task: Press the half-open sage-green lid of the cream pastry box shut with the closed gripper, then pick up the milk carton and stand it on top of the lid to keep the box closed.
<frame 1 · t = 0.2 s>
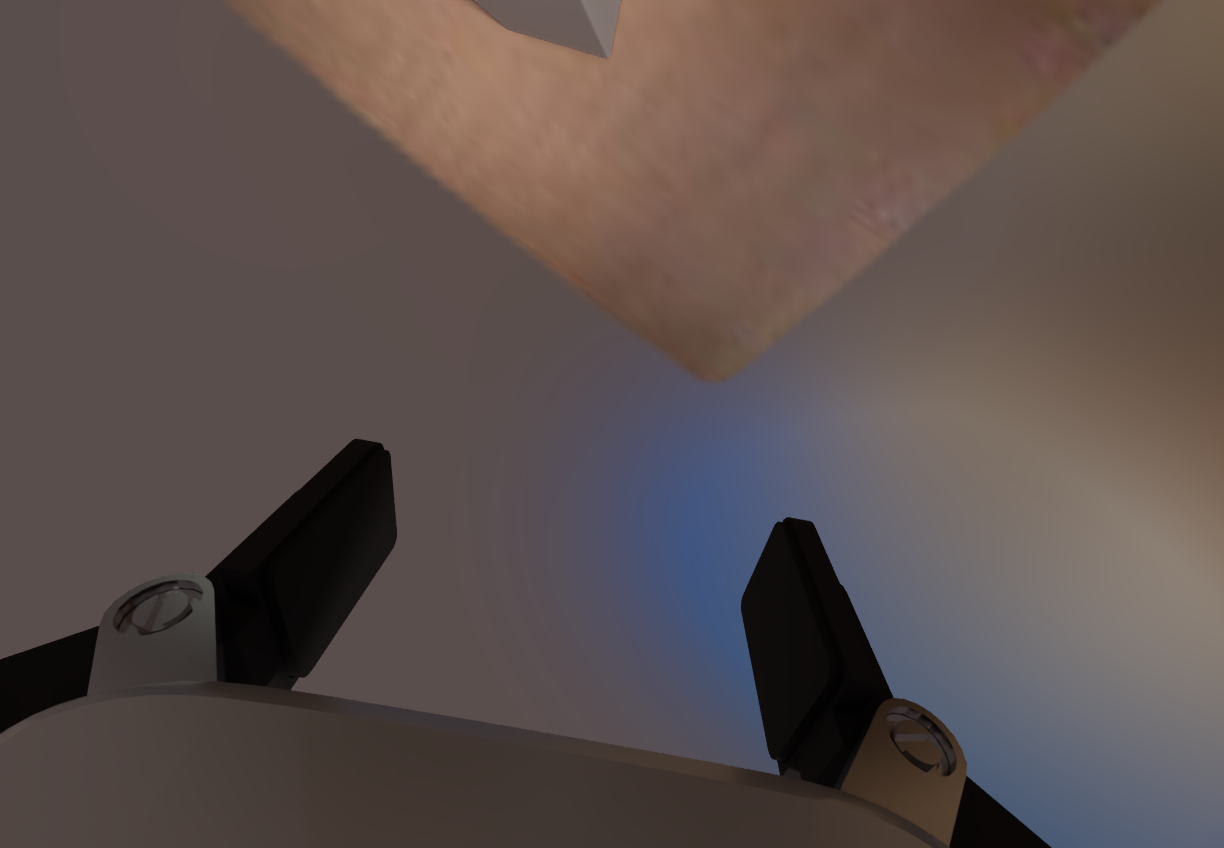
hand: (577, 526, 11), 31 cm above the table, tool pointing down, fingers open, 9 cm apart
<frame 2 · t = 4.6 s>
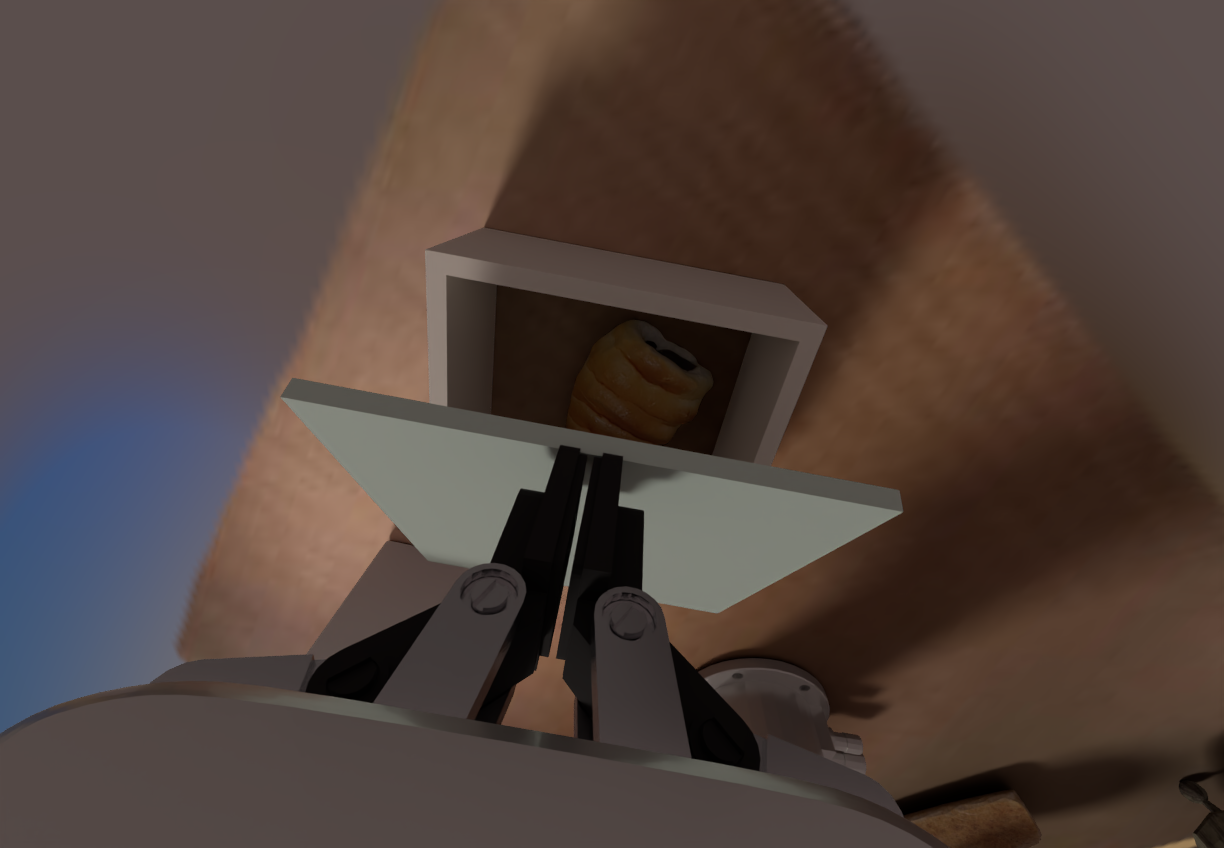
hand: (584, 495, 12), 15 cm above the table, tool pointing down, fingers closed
pastry box: (609, 391, 28), on the table
box lid: (581, 537, 19), point 11 cm above the table, hinge at 29.5°, touching gripper
brown upright piece: (949, 812, 48), on the table
pastry: (635, 388, 28), resting in pastry box
milk carton: (434, 578, 37), on the table
tabletop clock: (1208, 773, 41), on the table
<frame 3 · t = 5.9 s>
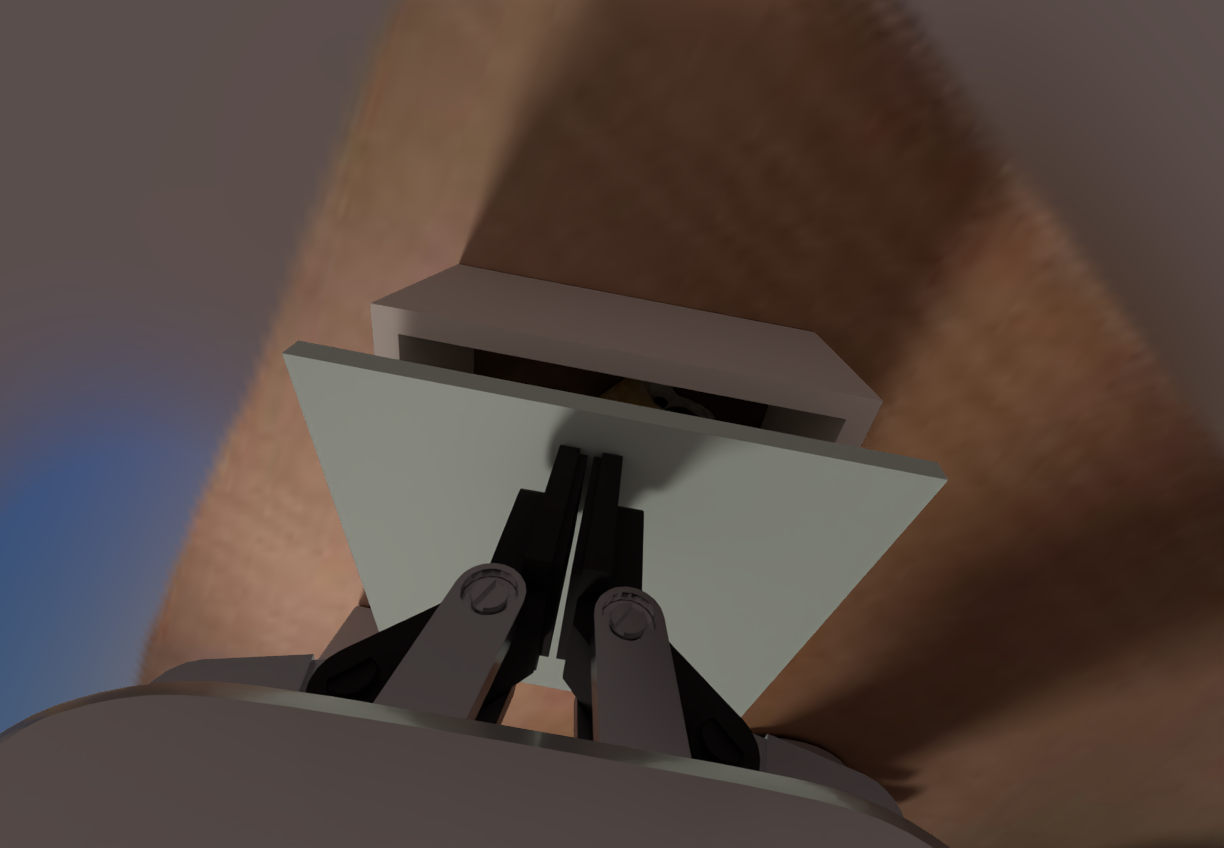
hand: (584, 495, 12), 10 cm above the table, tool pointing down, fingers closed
pastry box: (607, 450, 24), on the table
box lid: (581, 588, 16), point 9 cm above the table, hinge at 10.9°, touching gripper
pastry: (642, 447, 24), resting in pastry box
milk carton: (410, 645, 33), on the table
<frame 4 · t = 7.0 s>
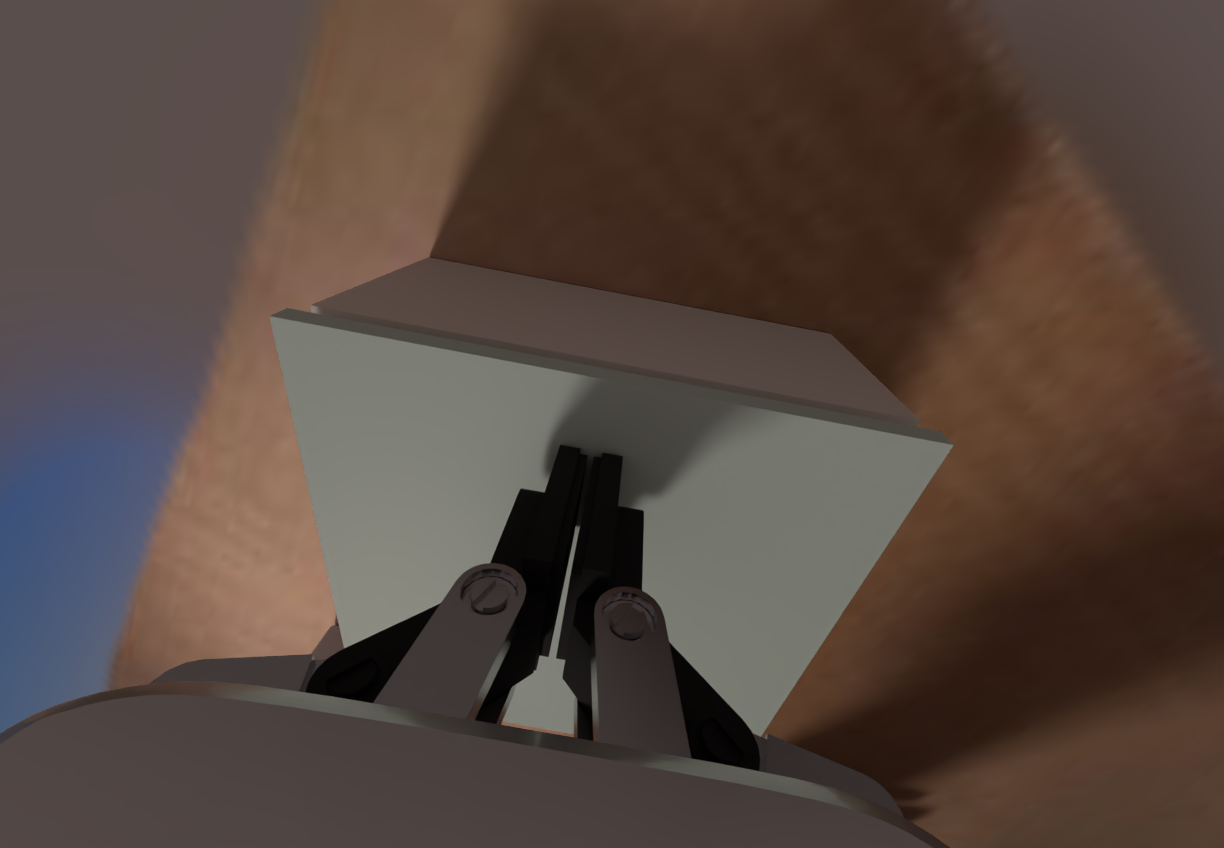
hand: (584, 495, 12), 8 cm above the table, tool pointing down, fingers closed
pastry box: (599, 462, 22), on the table
box lid: (574, 596, 15), point 8 cm above the table, hinge at 2.1°, touching gripper
milk carton: (392, 665, 31), on the table
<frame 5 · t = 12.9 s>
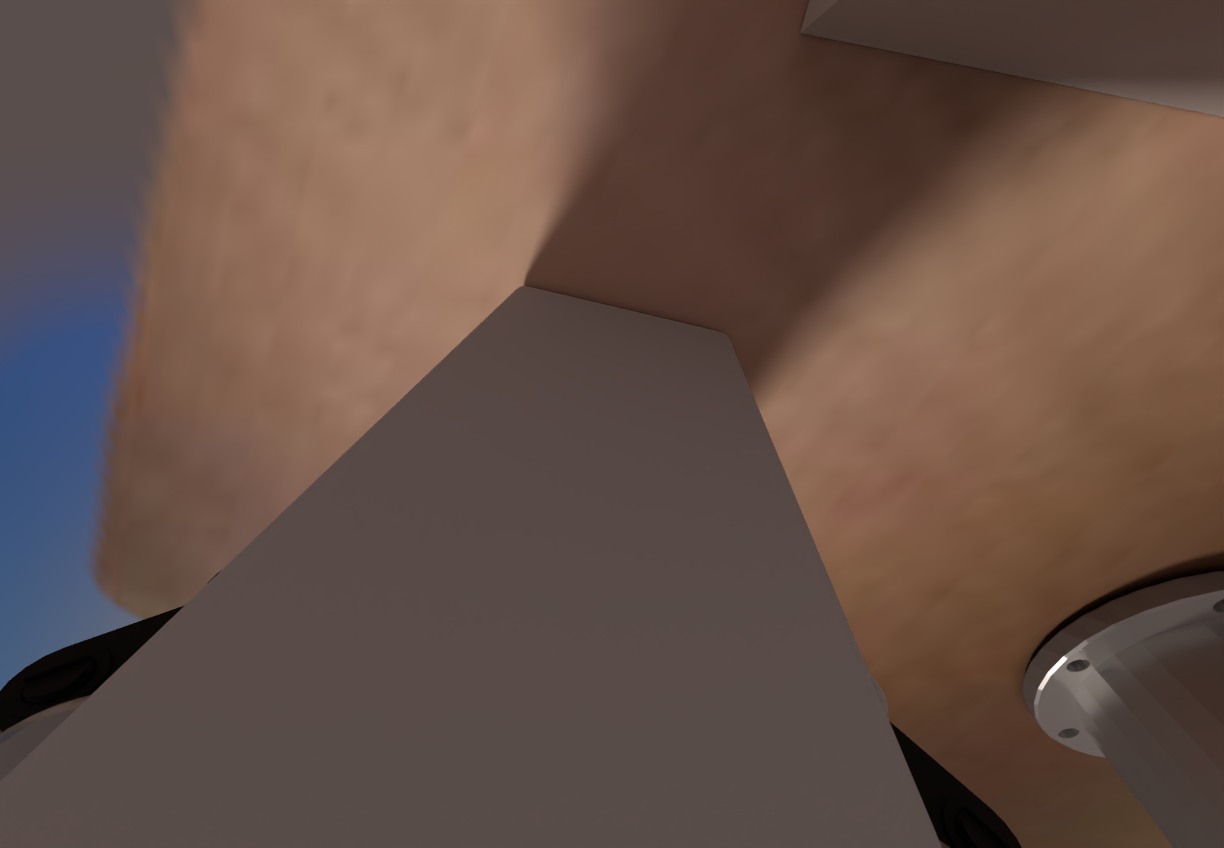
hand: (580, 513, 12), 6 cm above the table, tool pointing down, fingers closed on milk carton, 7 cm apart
milk carton: (604, 397, 18), on the table, touching gripper
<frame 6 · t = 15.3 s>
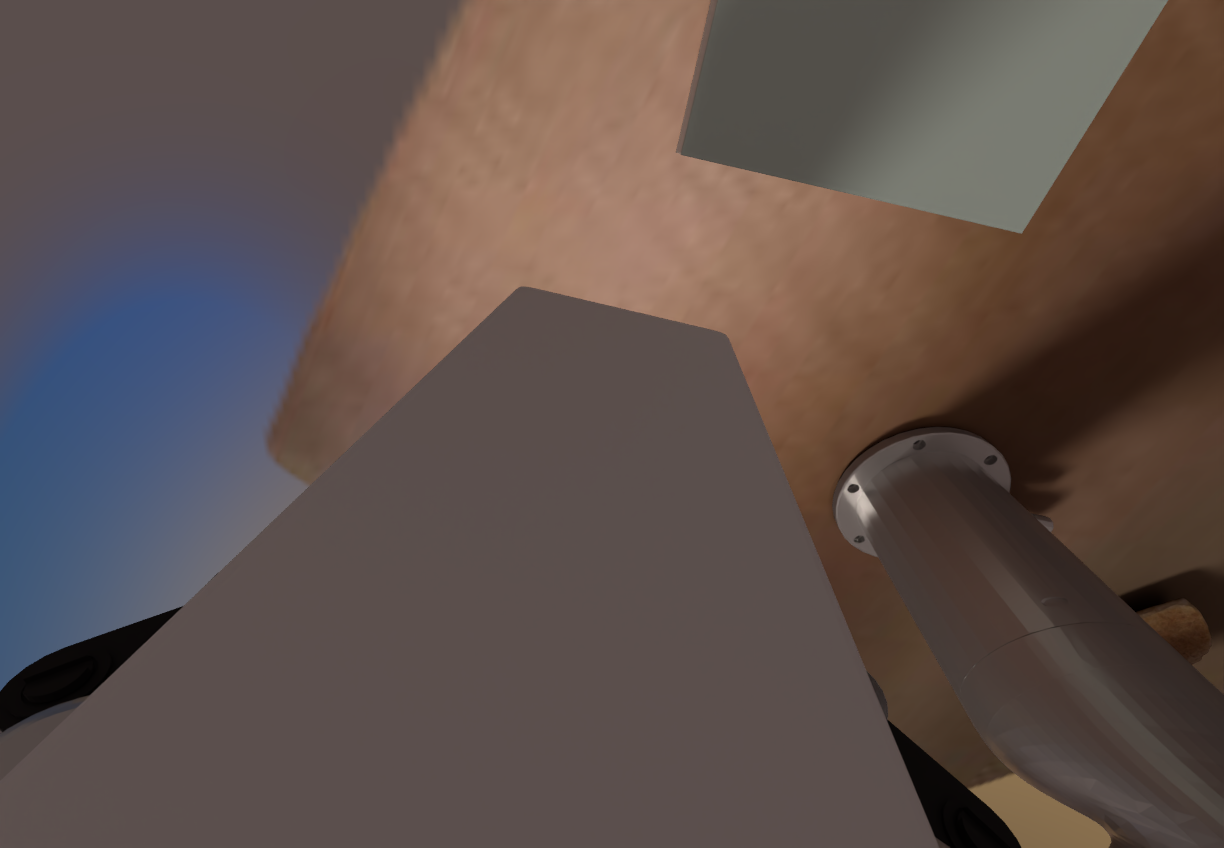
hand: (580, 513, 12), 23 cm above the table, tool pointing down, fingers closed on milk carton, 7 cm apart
pastry box: (867, 11, 24), on the table
brown upright piece: (1089, 645, 45), on the table
milk carton: (603, 397, 18), point 16 cm above the table, touching gripper
when the fingers open (16 cm above the table, at t = 18.1 s): milk carton drops 2 cm, resting on box lid.
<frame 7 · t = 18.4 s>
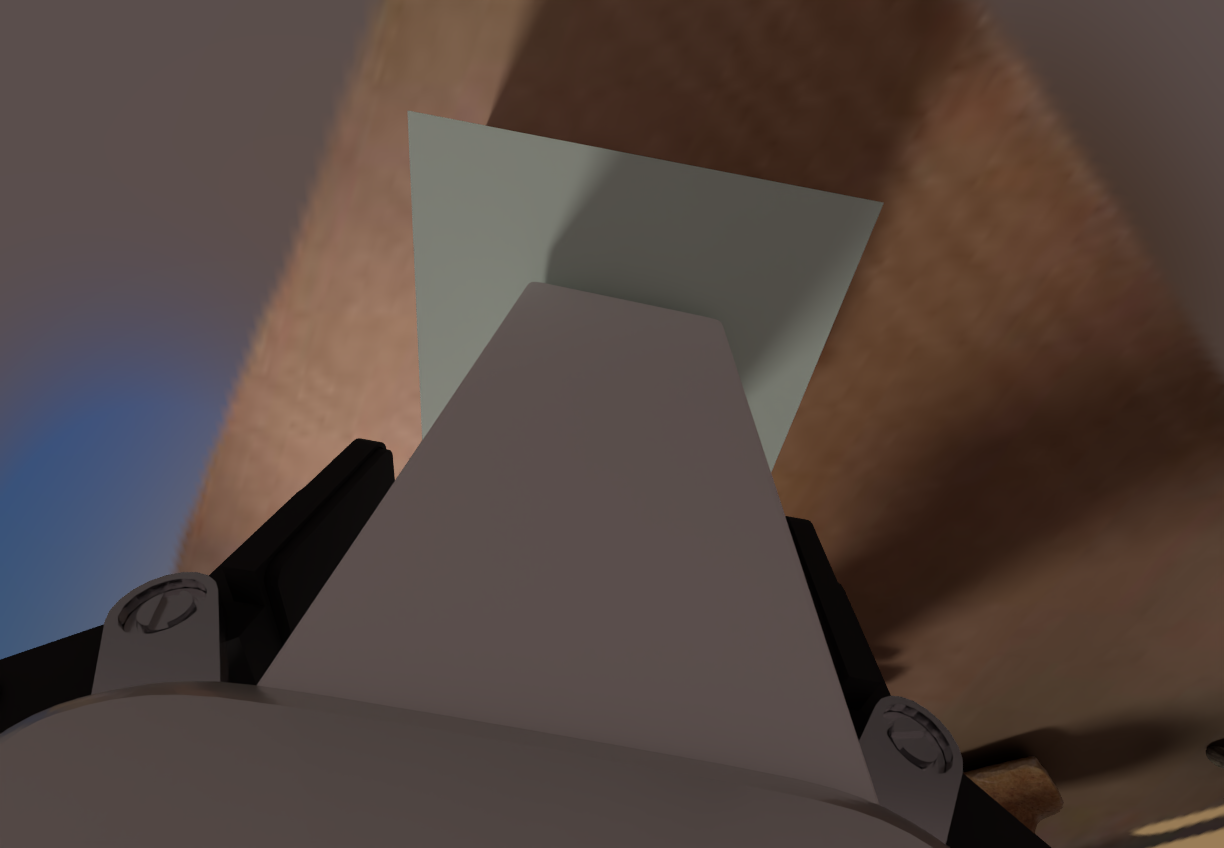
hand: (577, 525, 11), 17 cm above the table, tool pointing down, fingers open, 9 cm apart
box lid: (609, 372, 20), point 7 cm above the table, hinge at 0.2°, touching milk carton
brown upright piece: (965, 783, 47), on the table
milk carton: (609, 379, 19), point 8 cm above the table, touching box lid
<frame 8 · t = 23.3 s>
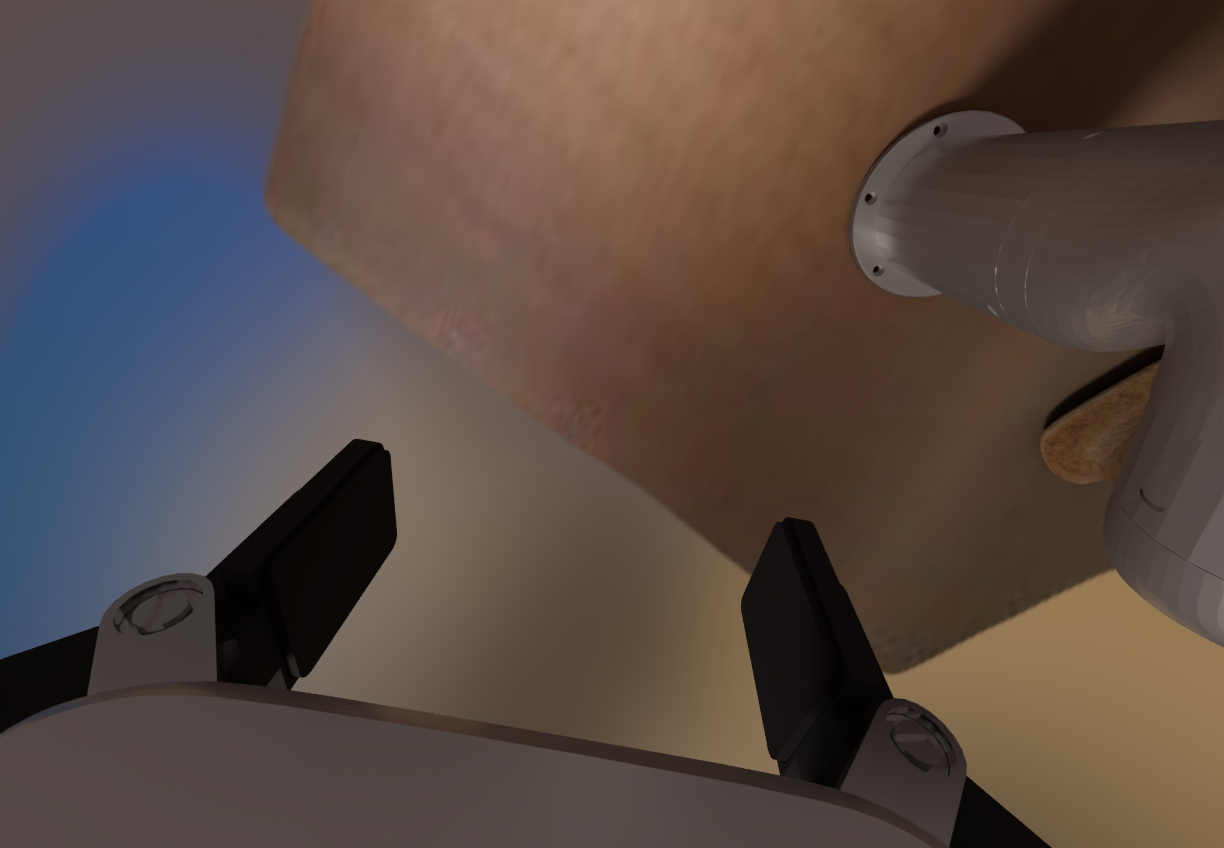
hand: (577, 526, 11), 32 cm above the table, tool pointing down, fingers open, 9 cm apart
brown upright piece: (1128, 415, 43), on the table
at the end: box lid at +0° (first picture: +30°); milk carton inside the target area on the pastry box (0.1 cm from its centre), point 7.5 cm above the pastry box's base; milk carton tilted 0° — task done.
